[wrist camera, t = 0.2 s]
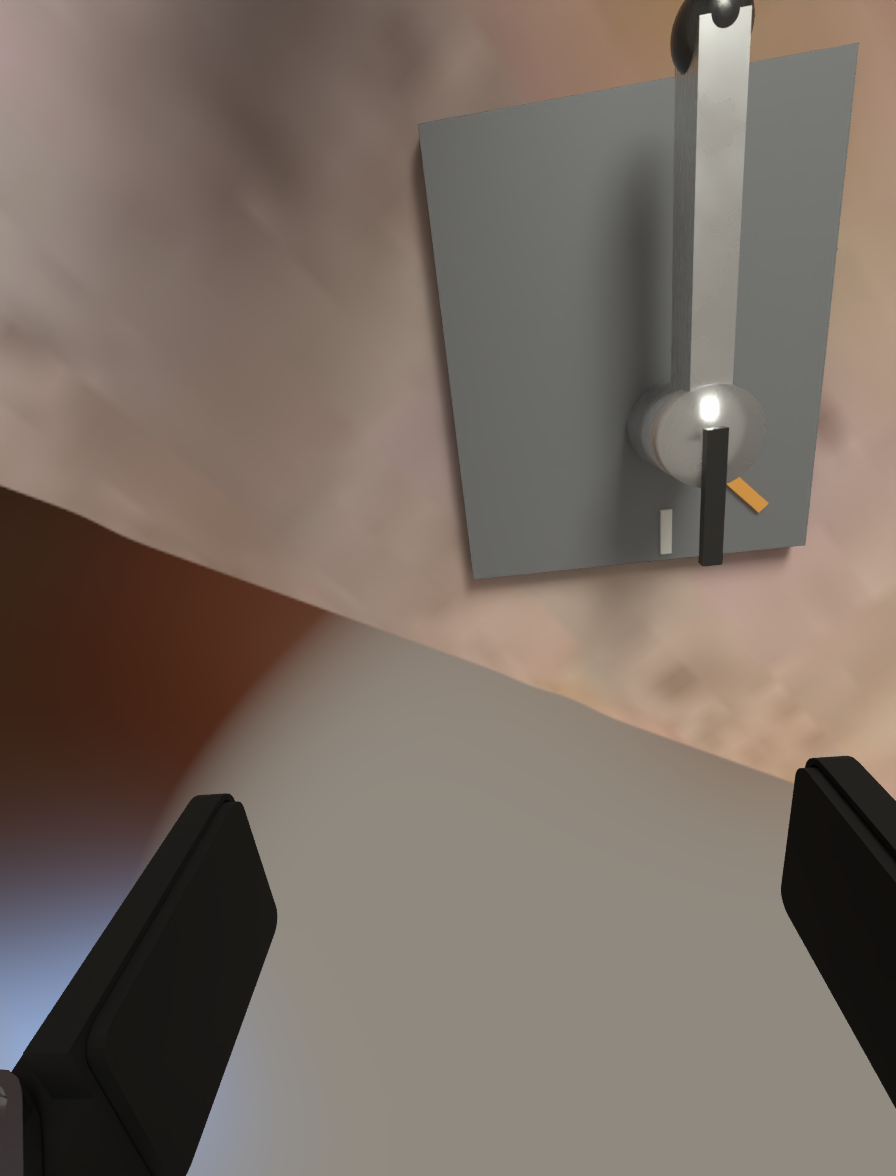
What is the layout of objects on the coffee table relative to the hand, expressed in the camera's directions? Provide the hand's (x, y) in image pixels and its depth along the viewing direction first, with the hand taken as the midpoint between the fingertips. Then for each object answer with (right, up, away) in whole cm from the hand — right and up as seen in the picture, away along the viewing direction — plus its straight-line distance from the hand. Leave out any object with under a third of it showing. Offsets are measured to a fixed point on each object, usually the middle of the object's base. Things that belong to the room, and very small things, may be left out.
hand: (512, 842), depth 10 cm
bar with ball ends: (+12, +20, +22) cm, 32 cm away
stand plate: (+10, +19, +25) cm, 33 cm away
